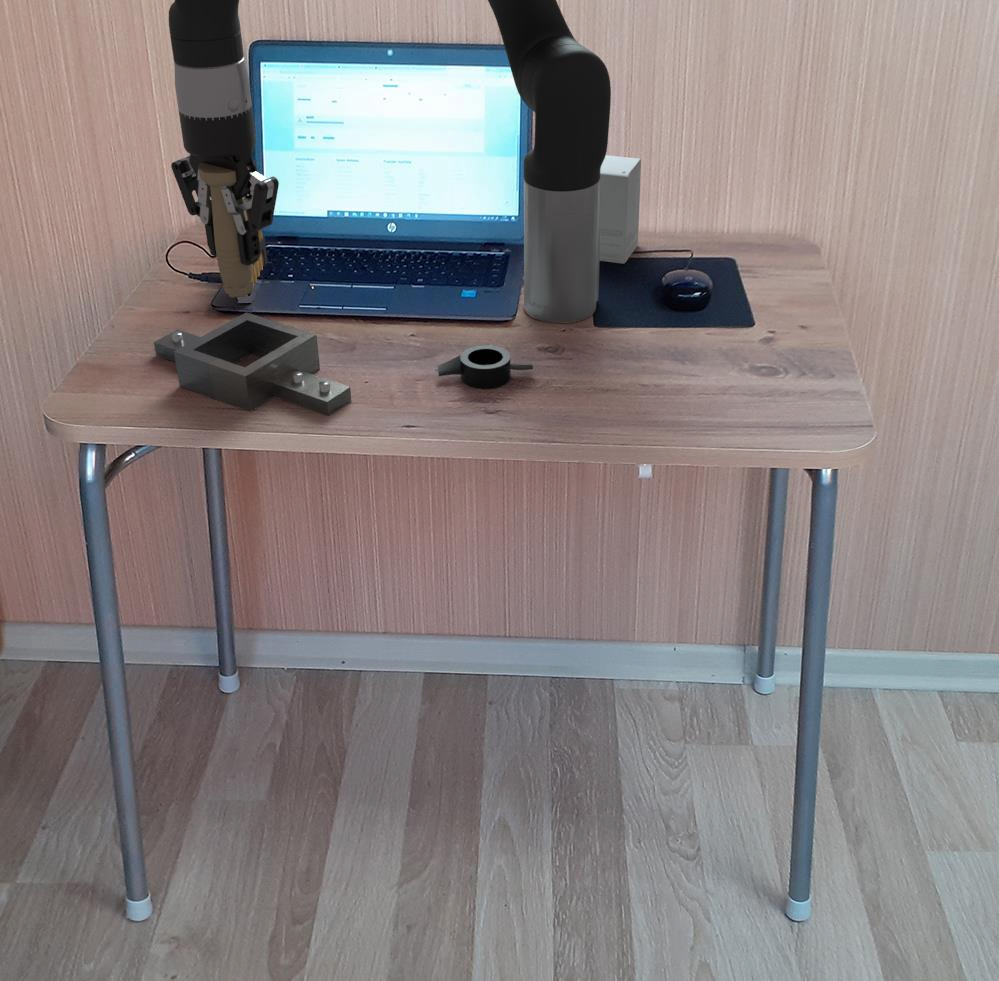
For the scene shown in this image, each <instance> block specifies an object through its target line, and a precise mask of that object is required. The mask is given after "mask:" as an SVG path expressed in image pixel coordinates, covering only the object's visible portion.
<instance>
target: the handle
mask: <svg viewBox="0 0 999 981" xmlns="http://www.w3.org/2000/svg"><path fill="white" fill-rule="evenodd" d="M199 175H200V178H201V180H202V181H203V182H204V183H206V184H208V185H210V192H211V202H212V214H213V227H214V240H215V249H216V256H217V257H216V256H215V257H216V260H217V267H218V269H219V274H220V279H221V281H222V282H221V283H222V288H223V290H224V291H223V292H224V293H225V294H226V295H228V296H229V297H230V298H237V297H245V296H246V295H247V294H249V293H252V291H253V281H251V279H252V277H253V265H252V264H251V265H248V266H247V265H244V264H242V263H241V260H240V252H239V244H238V236H237V233H239V232H238V230H237V227H236V224H235V221H234V218H233V215H232V214H230V213H228V210H227V207H226V204H225V201H224V198H223V195H222V192H221V190H220V189H219V188H220V187H224V186H232V185H234V184H235V183H236V182H237V180H236V171H234V170H230V169H226V168H221V167H217V166H214V165H210V164H206V163H202V162H200V164H199ZM243 199H244V197H243V198H241V199H239V200H237V201H236V202H237V204H238V203H240V202H242V201H243ZM243 214H244V217H245V220H247V219H246V214H245V211H244V212H243Z"/></svg>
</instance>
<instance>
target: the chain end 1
mask: <svg viewBox="0 0 999 981" xmlns="http://www.w3.org/2000/svg"><path fill="white" fill-rule="evenodd" d="M280 323H281V322H278V321H274V320H272V319H270V318H265V317H261V316H259V315H256V314H253V313H249V312H244V313H243V314H240V315H238V316H237V317H235V318H234V319H232V320H230V321H228V322H226V323H224V324H222V325H221V326H219V327H216V328H214V329H213V330H211V331H209V332H207V333H206V334H204V335H202V336H199V335H196V334H193V333H189V332H187V331H184V330H181V329H176V330H174V331H172V332H170V333H168V334H166V335H164V336H163V337H161V338H159V339H157V340H155V341H153V346H154V351H155V356H157V357H159V358H162V359H166V360H168V361H171V362H173V363H175V365H176V371H177V372H176V373H177V378H178V379H177V380H178V384H179V387H181V388H183V389H186V390H189V391H191V392H195V393H197V394H199V395H203V396H206V397H208V398H211V399H214V393H213V386H212V380H211V373H210V367H209V364H210V363H211V362H213V361H215V360H217V359H218V358H219V359H222V360H224V361H227V362H230V363H233V364H236V363H238V362H240V361H241V360H243V359H245V358H247V357H248V356H251V355H253V356H257V357H260V358H262V357H264V356H265V355H267V354H269V353H270V352H272V351H274V350H275V346H274V338H273V330H272V328H273V327H275V326H277V325H279V324H280ZM214 400H215V399H214Z"/></svg>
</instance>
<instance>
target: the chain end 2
mask: <svg viewBox="0 0 999 981" xmlns="http://www.w3.org/2000/svg"><path fill="white" fill-rule="evenodd" d="M279 323H280V324H279V325H277V326H275V327H273V328H272V330H273V338H274V346H275V350H274V351H272V352H270V353H269V354H267V355H265V356H264V357H260V358H259V359H257V360H255V361H253V362H252V363H250V364H248V365H246V366H241V365H240V364H239V365H238V364H236V363H235V364H233V363H230V362H227V361H224V360H222V359H219V358H218V359H217V360H215V361H213V362H211V363H210V364H209V367H210V373H211V380H212V386H213V393H214V400H217V401H219V402H222V403H225V404H227V405H230V406H233V407H236V408H238V407H239V409H241V408H242V409H241V410H244V409H245V410H244V411H247V410H248V411H247V412H249V411H250V412H249V413H251V412H253V411H254V410H256V409H257V408H259V407H261V406H262V405H264V404H266V403H267V402H269V401H270V400H272V399H274V398H276V399H280V400H282V401H285V402H288V403H291V404H294V405H297V406H300V407H301V408H304V409H308V410H311V411H314V412H316V413H319V414H321V415H325V416H328V417H329V416H330V415H333V414H334V413H335V412H337V411H339V410H340V409H341V408H343V407H344V406H345V405H348V404H349V403H351V402H352V392H351V386H348V385H346V384H343V383H339V382H336V381H335V380H334V381H333V380H330V379H328V378H325V377H322V376H320V375H316V374H315V372H317V371H319V370H320V369H321V366H320V355H319V347H318V345H319V344H318V336H317V335H318V334H316V333H313V332H309V331H307V330H304V329H300V328H297V327H295V326H294V327H293V326H290V325H288V324H285V323H282V322H279ZM255 408H256V409H255ZM252 410H253V411H252Z"/></svg>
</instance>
